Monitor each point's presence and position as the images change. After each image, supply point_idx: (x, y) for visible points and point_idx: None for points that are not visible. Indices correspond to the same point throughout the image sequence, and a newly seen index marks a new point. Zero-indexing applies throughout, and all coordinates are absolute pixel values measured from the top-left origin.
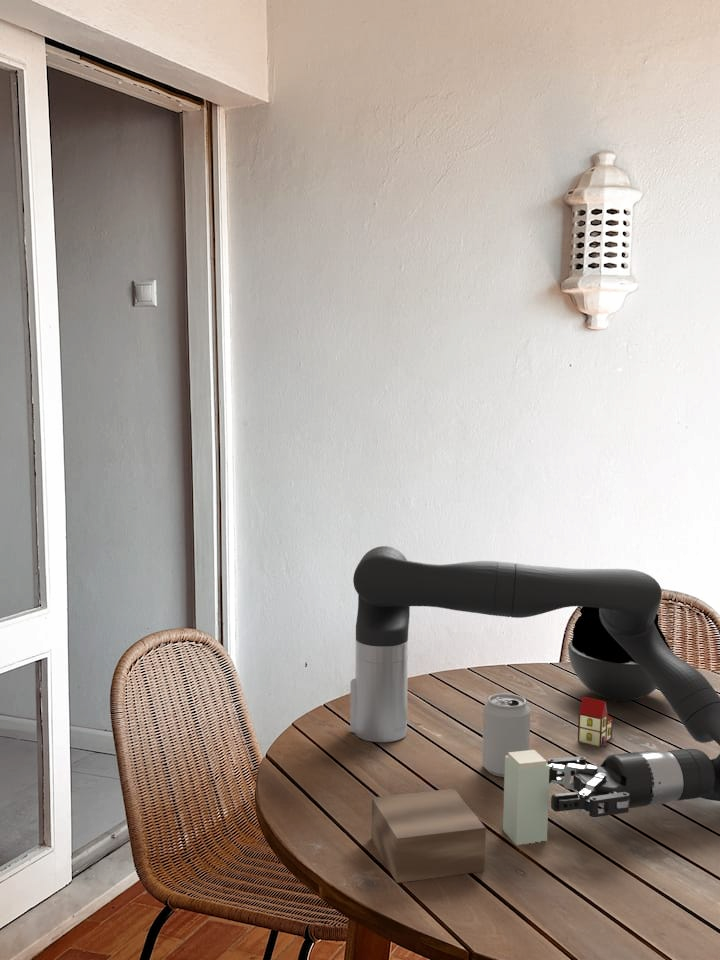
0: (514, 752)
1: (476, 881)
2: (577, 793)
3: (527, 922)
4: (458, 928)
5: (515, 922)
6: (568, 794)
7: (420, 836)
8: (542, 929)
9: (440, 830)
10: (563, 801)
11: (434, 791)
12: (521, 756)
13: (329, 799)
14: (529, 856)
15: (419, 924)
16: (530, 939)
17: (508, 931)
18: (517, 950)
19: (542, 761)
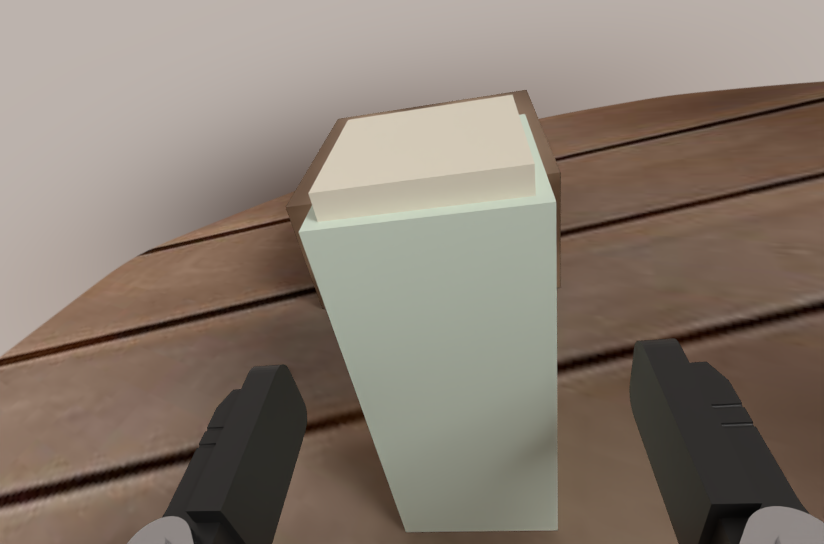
0: (503, 107)
1: (295, 290)
2: (197, 509)
3: (110, 334)
4: (191, 249)
5: (129, 317)
6: (224, 441)
7: (327, 137)
8: (69, 351)
9: (327, 153)
10: (216, 410)
11: (543, 146)
12: (437, 124)
13: (724, 137)
14: (333, 426)
15: (238, 216)
16: (71, 325)
17: (121, 302)
18: (73, 302)
19: (317, 180)
